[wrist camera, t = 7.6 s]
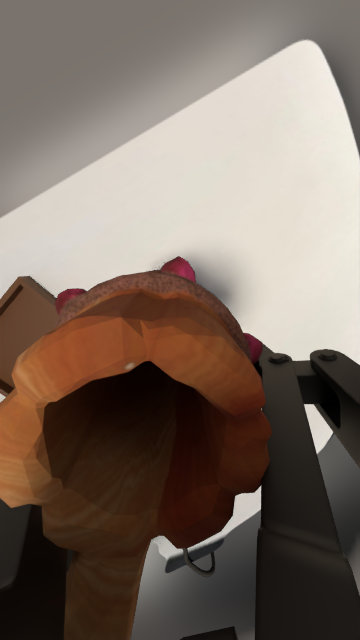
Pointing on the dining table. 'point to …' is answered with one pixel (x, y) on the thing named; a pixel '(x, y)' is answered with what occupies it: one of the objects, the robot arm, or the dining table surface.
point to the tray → (22, 324)
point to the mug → (132, 432)
